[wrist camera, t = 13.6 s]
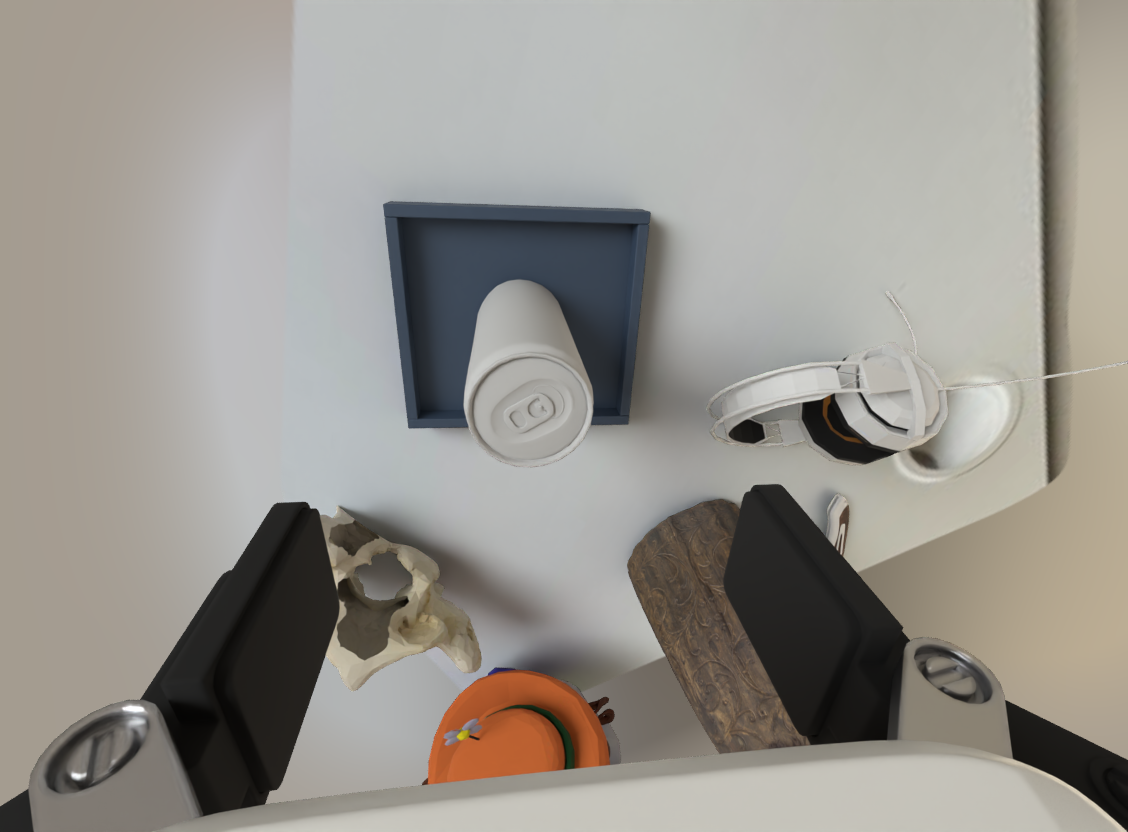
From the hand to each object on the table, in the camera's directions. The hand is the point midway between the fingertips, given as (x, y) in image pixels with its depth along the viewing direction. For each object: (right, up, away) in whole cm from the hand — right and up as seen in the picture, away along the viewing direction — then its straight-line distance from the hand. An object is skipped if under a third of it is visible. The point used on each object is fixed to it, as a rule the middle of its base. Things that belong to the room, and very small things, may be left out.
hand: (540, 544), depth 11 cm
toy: (-1, -25, +29) cm, 38 cm away
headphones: (+18, +6, +22) cm, 29 cm away
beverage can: (-2, +8, +18) cm, 20 cm away
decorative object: (-13, -7, +16) cm, 21 cm away
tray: (-2, +8, +18) cm, 20 cm away
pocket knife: (+21, -9, +29) cm, 37 cm away
